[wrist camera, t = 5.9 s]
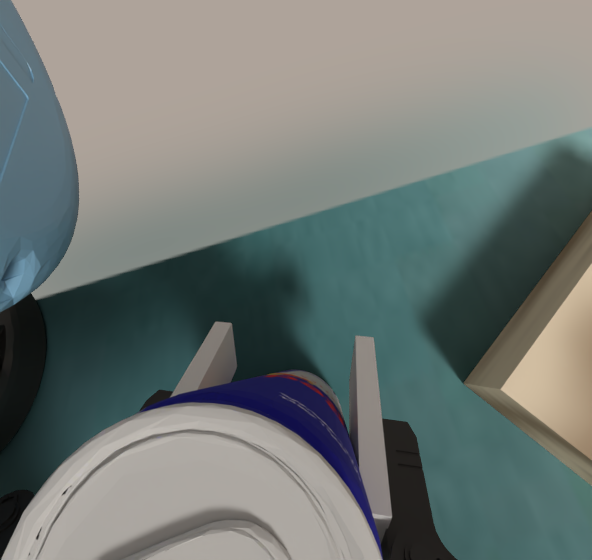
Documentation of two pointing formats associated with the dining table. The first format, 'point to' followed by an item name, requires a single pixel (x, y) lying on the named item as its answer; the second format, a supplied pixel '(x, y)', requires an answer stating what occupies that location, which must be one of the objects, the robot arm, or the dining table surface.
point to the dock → (549, 359)
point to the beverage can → (210, 482)
